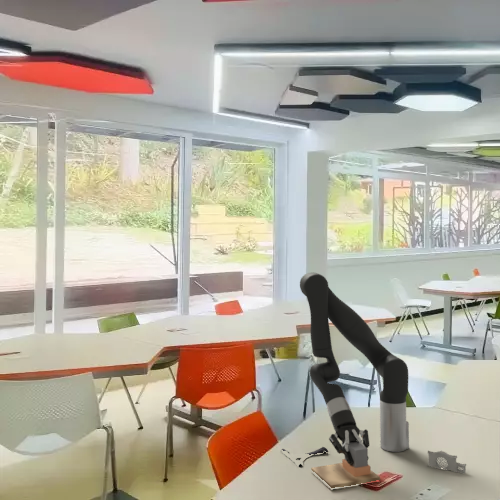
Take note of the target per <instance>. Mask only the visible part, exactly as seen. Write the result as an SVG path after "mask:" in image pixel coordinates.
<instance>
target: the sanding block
mask: <svg viewBox="0 0 500 500" xmlns="http://www.w3.org/2000/svg"><path fill="white" fill-rule="evenodd" d="M348 447H349V452H350V453H351V455H352V458H353V461H354V464H353V465H350V464H348V463H347V460H346V457H345V456H344V458H342V460H341V461H342V462H341V463H342V467H343V468H344V469H346V470H347V471H348V472H350V473H351V474H352V475H353V476H355V477H356V476H361V475H367V474H370V470H371V465H370V464H369V455H368V454H369V452H368V448H366V447H364V446H363V445H362V444H359V443H357V441H356V442H350V443H349V445H348Z"/></svg>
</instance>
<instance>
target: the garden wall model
mask: <svg viewBox="0 0 500 500" xmlns="http://www.w3.org/2000/svg"><path fill="white" fill-rule="evenodd" d="M427 454H428V467H429V466H431V467H430V468H433V467H436V468H435V469H438V468H439V469H438V470H440V469H441V467H442V468H443V467H444V468H443V469H445V470H444V471H448V470H452V471H451V472H453V471H455V473H460V474H464V475H465V474H466V468H467V464H466V463H461V462H457V458H458V455H452V454H450V453H448V452H446V451H443V450H440V451H439V450H438V451H431V450H427ZM446 469H447V470H446Z"/></svg>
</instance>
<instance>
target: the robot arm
mask: <svg viewBox="0 0 500 500" xmlns="http://www.w3.org/2000/svg"><path fill="white" fill-rule="evenodd" d="M299 288H300V292H301V293H302V294H303V295H304V296H305V297H306V299H307V303H308V307H309V312H310V341H311V350H312V354H313V357H315V358H321V359H322V358H323V359H325V360H326V361H325V362H320V363H316V364H313V365H312V366H310V369H309V376H310V379H311V380H312V383H314V385H315V387H316V388H317V389H318V391H319V392H320V393H321V396H322V397H323V399H324V400H323V401H324V403H325V406H326V407H327V408H326V409H327V412H328V416H329V419H330V421H331V424H332V427H333V429H334V431H335V432H334V433H332V434H330V436H329V437H328V440H329V442H330V443H331V445H332V446H333V447H334V450H336V452H337V454H343V455H344V458H345V457H346V460H347V463H348V464H350V465H353V464H354V461H353V458H352V455H351V453H350V452H349V447H348V445H349V443H350V442H356V441H357V443H359V444H362V445H363V446H364V447H366V448H367V449H368V448H369V447H370V437H369V431H368V429H364V430H362V429H360V428H359V427H358V426H357V421H356V419H355V417H354V414H353V412H352V409H351V406H350V404H349V403H348V400H347V399H346V397H345V396H346V395H345V393H344V391H343V388H342V387H341V385H340V384H337V383H332V382H336V381H338V380H339V378H340V375H341V371H340V370H341V369H340V367H339V365H338V363H337V361H336V358H335V355H334V352H333V346H332V337H331V332H330V330H331V329H330V323H329V322H331V324H332V325H333V326H334V328H335V329H336V330H337V331H338V332H339V333H340V334H341V335H342V336H343V337H344V339H346V340H347V341H348V343H350V344H351V345H352V346H353V347H354V348H355V349H356V350H358V351H359V352H360V353H362V355H363V356H364V357H366V359H367V360H368V361H369V362H370V364H371V365H372V367H373V369H375V370H376V372H377V373H378V374H379V376H380V377H381V378H382V379H383V381H382V390H381V391H380V392H379V422H380V423H379V428H380V430H379V431H380V434H379V435H380V436H379V437H380V441H379V442H380V448H381V449H382V450H384V451H388V452H391V453H392V452H393V453H398V452H399V453H401V452H404V451H406V450H407V449H410V430H409V428H410V427H409V426H410V424H409V421H407V396H408V392H409V368H408V367H409V366H408V365H407V363H406V361H404V360H403V359H401V358H400V357H398V356H396V355H394V354H393V353H392V352H390V351H389V350H388V349H387V348H386V347H385V346H384V345H382V344H381V342H380V341H379V340H378V339H377V336H376V334H375V333H374V332H373V330H372V329H371V327H370V326H369V325H368V323H367V322H366V320H364V319H363V318H362V317H361V316H360V314H358V313H357V312H356V310H354V309H352V308H351V306H349V305H348V304H346V303H345V302H344V301H343V300H341V299H340V298H339V297H338V296H337V295H336V294H335V293H334V292H333V291H332V289H331V288H330V287H329V281H328V280H327V278H326V277H325V276H324V275H322V274H320V273H317V272H307V273H306V274H303V276H302V277H300V281H299ZM361 438H362V439H361ZM339 440H340V441H341V443H340V441H339Z"/></svg>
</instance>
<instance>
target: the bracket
mask: <svg viewBox="0 0 500 500" xmlns="http://www.w3.org/2000/svg"><path fill="white" fill-rule="evenodd" d="M281 450H283V451H287V450H286V449H284V448H282V449H281ZM325 451H326V452H328V453H329V451H328V448H326V446H325V447H324V446H322V447H320V448H318V449H315V450H313V451H310V452H308V453H306V454H309V455H311V454H317V453H323V452H325Z"/></svg>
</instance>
